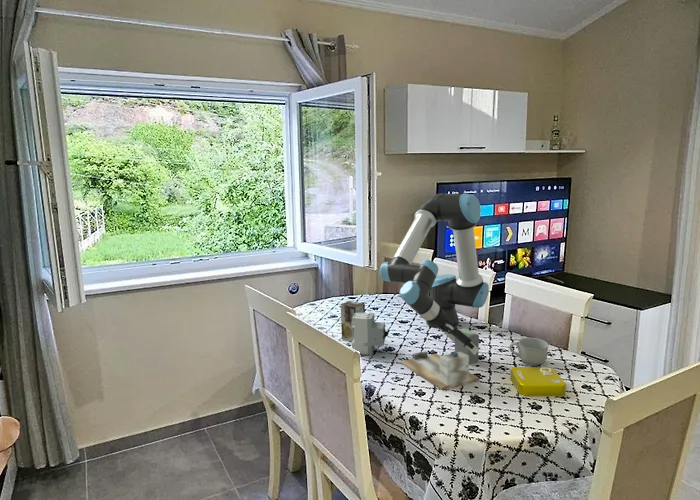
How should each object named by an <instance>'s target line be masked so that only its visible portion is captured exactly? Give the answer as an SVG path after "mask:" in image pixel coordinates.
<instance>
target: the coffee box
mask: <svg viewBox="0 0 700 500" xmlns="http://www.w3.org/2000/svg"><path fill="white" fill-rule="evenodd" d="M355 313H366V304H365V303H362V302H357V301H352V300H349V301H345V302H343V303H340V324H341V327H340V328H341V339H342V340H343V341H344V340H345V341H348V342H351V343H352V342H353V340H354V328H352V326H351V323H352V317H353V316H354V314H355Z"/></svg>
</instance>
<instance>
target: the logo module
mask: <svg viewBox="0 0 700 500" xmlns="http://www.w3.org/2000/svg"><path fill="white" fill-rule="evenodd" d="M458 329H459V328H458ZM459 330H460V331H461V332H462V333H463V334H465V335H466V336H467V337H468V338H469V339H471V340H472V341H471V342H472V343H473V344H474V345H475V346H476V347H477V348H478V349H479V350H480V348H479V343H480V341H479V340H480V339H479V338H480V334H478V333H476V332H474V331H473V330H469V329H467V328H460V329H459ZM454 351H455V352H463V353H465V354H467V355H469V365H471V364H475V363H479V351H478V352H477V353H476V354H475V355H474V354H473V353H472V352H471V351H470V350H469V349H468V348H467V347H464V345H463V343H462V342H461V341H459V340H458V339H457V338H456V337H455V343H454Z"/></svg>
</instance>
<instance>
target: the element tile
mask: <svg viewBox="0 0 700 500" xmlns="http://www.w3.org/2000/svg"><path fill="white" fill-rule="evenodd" d="M509 372H510V373H509V375H510V377H509V379H510V381H511V384H513V386H514V388H515V389H516V391H517V393H518V394H519V395H520V396H522V395H523V396H522V397H564V396H566V385H567V384H566V382H565V381H564V380H563V378H562V377H561V376H560V375H559V374H558V372H557V371H556V370H555V369H554V368H552V367H550V366H520V367H519V366H514V367H511V368H510V370H509Z"/></svg>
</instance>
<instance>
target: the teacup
mask: <svg viewBox="0 0 700 500" xmlns="http://www.w3.org/2000/svg"><path fill="white" fill-rule="evenodd" d="M514 346H516V349H517V350H518V351H517V352H516V351H515V350H514V349H513V347H514ZM508 348H509V351H510V352H511V353H512V354H513V355H515V356H516V357H517V358H519V360H521V361H522V362H523V363H524V364H526V365H528V366H540V365H541V364H543V363H545V362H546V361H547V358H548V353H549V352H548V349H549V343H548V342H547V341H546V340H543V339H542V338H538V337H522V338H520V339H519V340H518V342H511V343H510V344H509V347H508Z"/></svg>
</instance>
